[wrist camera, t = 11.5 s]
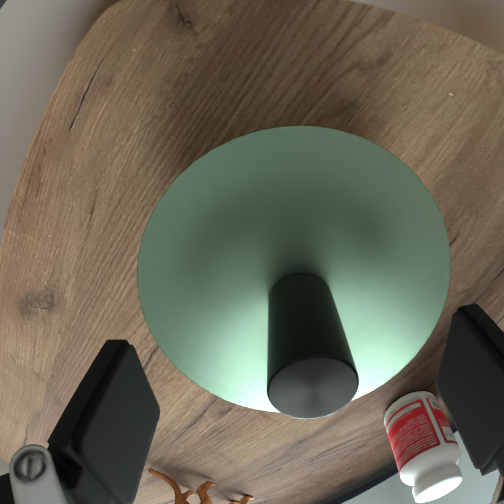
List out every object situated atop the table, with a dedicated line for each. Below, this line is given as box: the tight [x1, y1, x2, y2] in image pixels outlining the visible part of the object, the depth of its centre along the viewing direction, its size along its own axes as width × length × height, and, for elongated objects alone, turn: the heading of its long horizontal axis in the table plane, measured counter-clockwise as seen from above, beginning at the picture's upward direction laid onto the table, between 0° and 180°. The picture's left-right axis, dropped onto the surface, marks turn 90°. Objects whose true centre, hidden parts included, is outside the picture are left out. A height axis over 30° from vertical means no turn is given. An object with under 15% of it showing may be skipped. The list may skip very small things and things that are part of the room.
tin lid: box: [137, 126, 451, 419], centre depth 11 cm, size 14×14×6 cm
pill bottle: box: [384, 391, 463, 503], centre depth 24 cm, size 6×6×11 cm
